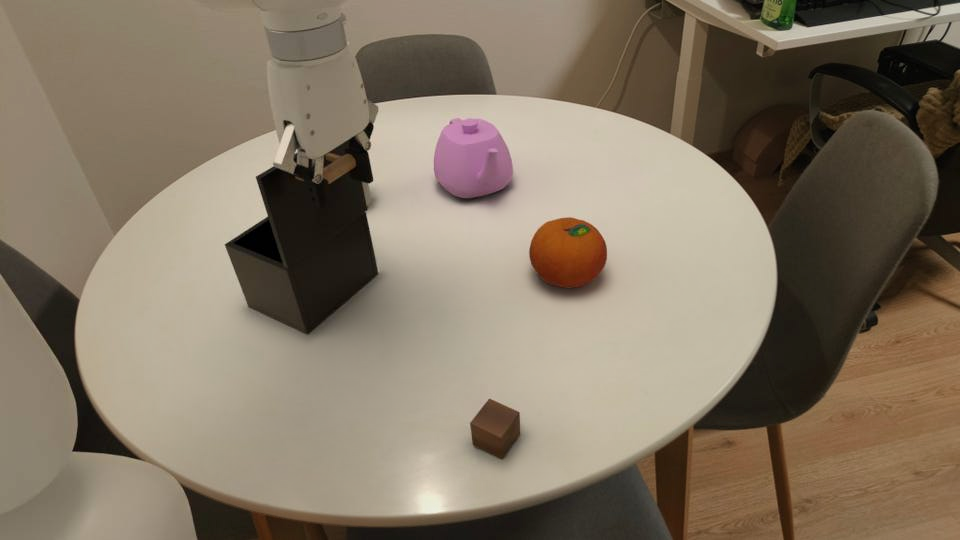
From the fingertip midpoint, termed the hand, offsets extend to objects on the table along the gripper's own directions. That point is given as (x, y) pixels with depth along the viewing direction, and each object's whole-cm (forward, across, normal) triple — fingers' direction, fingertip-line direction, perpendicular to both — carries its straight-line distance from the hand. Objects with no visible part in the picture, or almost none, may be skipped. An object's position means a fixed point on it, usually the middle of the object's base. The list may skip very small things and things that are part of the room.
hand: (342, 192), depth 73 cm
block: (+19, +9, +26) cm, 33 cm away
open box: (+19, 0, -10) cm, 22 cm away
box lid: (+2, 0, -5) cm, 5 cm away
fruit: (+19, -20, +20) cm, 34 cm away
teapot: (+19, -35, -5) cm, 40 cm away
